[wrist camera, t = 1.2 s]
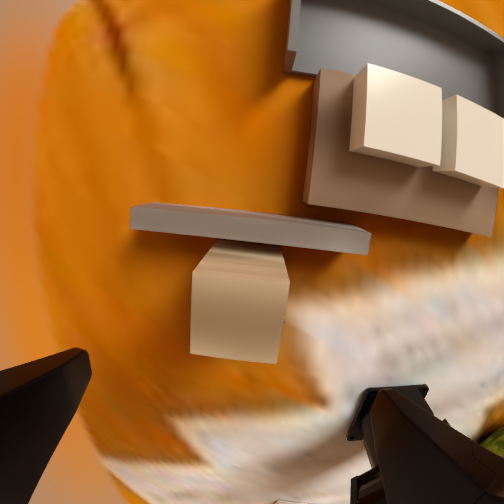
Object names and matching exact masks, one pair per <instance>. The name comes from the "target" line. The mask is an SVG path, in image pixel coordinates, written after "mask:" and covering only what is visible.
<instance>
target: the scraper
mask: <svg viewBox="0 0 504 504" xmlns="http://www.w3.org/2000/svg"><path fill="white" fill-rule="evenodd" d="M130 229H135V230H145V231H155V232H165V233H175V234H184V235H194V236H203V237H212V238H222V239H231V240H240V241H249V242H258V243H267V244H276V245H285V246H293V247H302V248H311V249H319V250H328V251H336V252H345V253H353V254H361V255H368V251H369V245H370V239H371V234H372V233H370V232H368V231H366V230H364V229H362V228H359V227H357V226H355V225H353V224H348V223H340V222H333V221H326V220H318V219H311V218H303V217H295V216H287V215H278V214H270V213H261V212H252V211H242V210H233V209H223V208H212V207H202V206H190V205H179V204H166V203H148V204H143V205H139V206H134V207H131V211H130ZM289 287H290V280H289V277H288V273H287V269H286V265H285V262H284V258H283V254H282V251H281V247H280V246H271V245H262V244H253V243H244V242H235V241H226V240H217V241H216V242H215V243H214V245H213V246H212V247H211V249H210V250H209V251H208V252H207V254H206V255H205V256H204V258H203V259H202V260H201V261H200V263H199V264H198V265H197V267H196V268H195V269H194V270H193V272H192V295H191V328H190V354H197V355H203V356H210V357H217V358H225V359H233V360H242V361H251V362H261V363H272V364H277V359H278V353H279V347H280V342H281V336H282V330H283V324H284V318H285V312H286V306H287V300H288V293H289Z"/></svg>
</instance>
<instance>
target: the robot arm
mask: <svg viewBox="0 0 504 504" xmlns="http://www.w3.org/2000/svg"><path fill="white" fill-rule="evenodd" d="M91 375H92V370H91V365H90V360H89V355H88V352H87V351H86V350H83V349H80V348H72V349H69V350H66V351H63V352H60V353H57V354H54V355H50V356H47V357H45V358H41V359H38V360H35V361H31V362H28V363H25V364H22V365H18V366H15V367H12V368H8V369H5V370H2V371H0V504H28V503H29V501H30V498H31V496H32V494H33V492H34V490H35V488H36V486H37V484H38V482H39V480H40V478H41V476H42V474H43V472H44V470H45V468H46V466H47V464H48V462H49V460H50V458H51V456H52V455H53V453H54V451H55V449H56V447H57V445H58V443H59V442H60V440H61V438H62V436H63V434H64V433H65V431H66V429H67V427H68V425H69V424H70V422H71V420H72V418H73V416H74V414H75V413H76V411H77V408H78V406H79V404H80V401H81V399H82V397H83V395H84V392H85V390H86V388H87V386H88V383H89V381H90V379H91ZM428 390H429V388H428V386H427V385H426V384H423V385H411V386H398V387H380V388H369V389H367V390H366V392H365V394H364V396H363V398H362V401H361V403H360V406H359V408H358V410H357V413H356V415H355V417H354V420H353V422H352V424H351V426H350V428H349V431H348V433H347V435H346V437H347V440H348V441H356V440H363V443H364V446H365V449H366V452H367V455H368V458H369V461H370V464H371V467H372V469H371V470H369V471H367V472H365V473H364V474H362V475H360V476H356V477H354V478H352V479H351V498H350V504H504V458H503V457H501V456H499V455H497V454H495V453H493V452H491V451H490V450H488V449H486V448H484V447H483V446H481V445H479V444H478V443H476V442H475V441H473V440H471V439H470V438H468V437H466V436H465V435H463V434H462V433H460V432H458V431H457V430H455V429H454V428H452V427H451V426H450V424H449V423H448V422H447V420H446V419H444V420H443V421H441V420H440V419H438V418H437V417H435V416H434V413H433V412H432V410H431V409H430V407H429V405H428V404H427V402H426V401H425V399H424V398H425V397H426V395H427V392H428ZM371 393H372V394H371ZM369 394H370V395H369Z"/></svg>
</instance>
